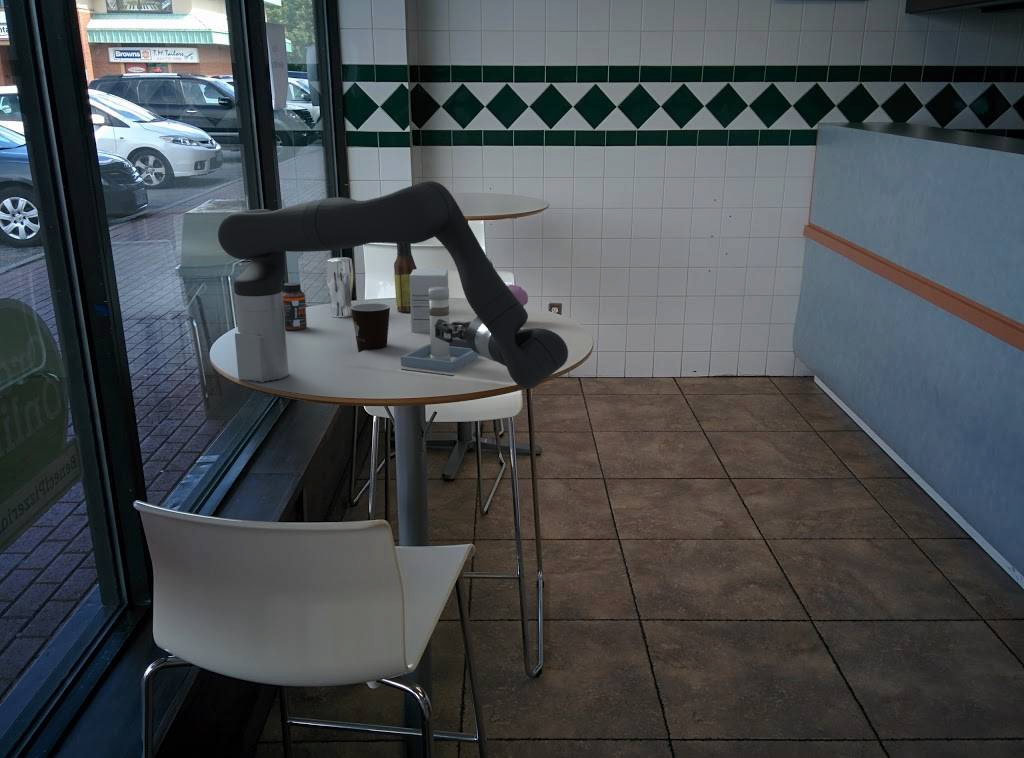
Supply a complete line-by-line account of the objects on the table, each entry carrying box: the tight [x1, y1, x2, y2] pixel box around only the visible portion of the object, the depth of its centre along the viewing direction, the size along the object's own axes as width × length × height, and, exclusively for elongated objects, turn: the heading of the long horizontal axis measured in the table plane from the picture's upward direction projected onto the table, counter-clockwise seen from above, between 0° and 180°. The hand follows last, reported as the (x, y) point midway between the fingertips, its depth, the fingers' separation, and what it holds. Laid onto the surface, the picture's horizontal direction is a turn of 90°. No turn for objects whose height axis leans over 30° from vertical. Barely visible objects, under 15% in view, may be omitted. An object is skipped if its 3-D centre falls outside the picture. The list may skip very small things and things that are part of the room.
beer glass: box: [325, 256, 354, 318], centre depth 236 cm, size 7×7×15 cm
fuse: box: [428, 287, 451, 361], centre depth 186 cm, size 4×4×16 cm
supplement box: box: [410, 268, 449, 334], centre depth 217 cm, size 9×9×15 cm
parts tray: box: [400, 343, 479, 377], centre depth 188 cm, size 12×12×3 cm
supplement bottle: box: [283, 282, 308, 331], centre depth 221 cm, size 6×6×11 cm
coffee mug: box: [351, 302, 391, 353], centre depth 201 cm, size 12×9×10 cm
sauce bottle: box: [393, 243, 418, 313], centre depth 240 cm, size 7×6×20 cm
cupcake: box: [507, 284, 529, 307], centre depth 227 cm, size 9×9×10 cm
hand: (458, 322), depth 177 cm, fingers open, 8 cm apart
